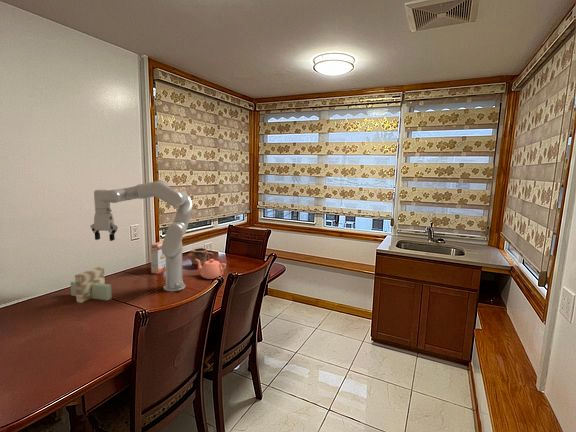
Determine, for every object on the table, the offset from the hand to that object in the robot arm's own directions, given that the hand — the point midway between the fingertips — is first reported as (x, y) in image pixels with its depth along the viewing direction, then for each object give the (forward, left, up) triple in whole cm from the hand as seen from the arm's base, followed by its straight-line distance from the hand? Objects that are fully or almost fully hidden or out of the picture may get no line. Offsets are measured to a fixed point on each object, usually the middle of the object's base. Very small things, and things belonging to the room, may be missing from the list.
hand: (104, 240), depth 177 cm
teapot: (-31, -53, -31) cm, 69 cm away
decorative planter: (-10, -63, -31) cm, 71 cm away
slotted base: (-4, +11, -30) cm, 33 cm away
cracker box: (+6, -40, -31) cm, 51 cm away
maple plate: (-4, +11, -30) cm, 32 cm away
